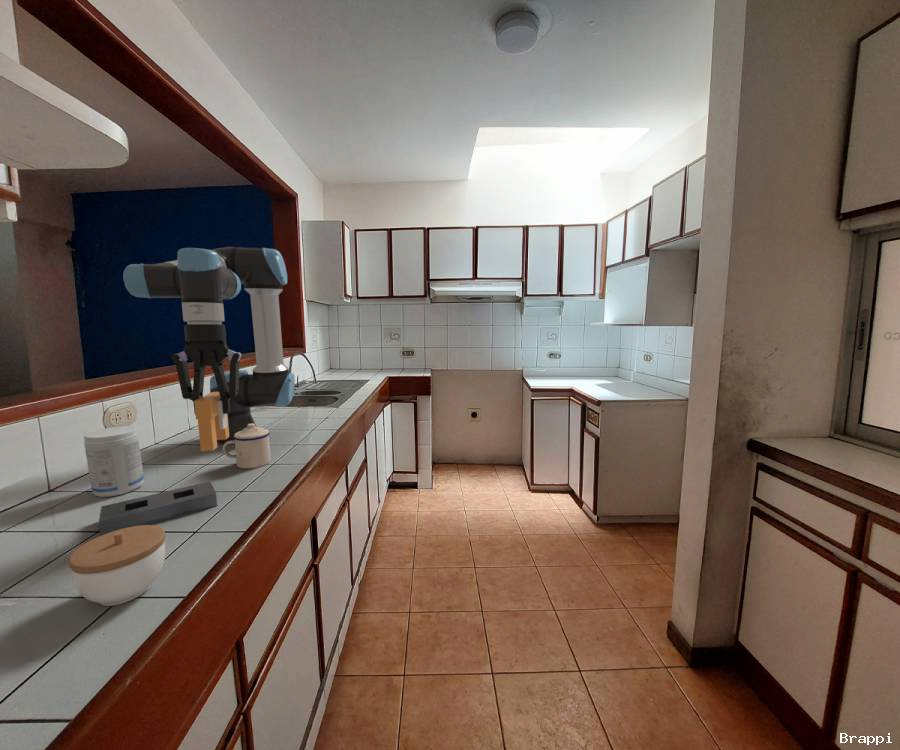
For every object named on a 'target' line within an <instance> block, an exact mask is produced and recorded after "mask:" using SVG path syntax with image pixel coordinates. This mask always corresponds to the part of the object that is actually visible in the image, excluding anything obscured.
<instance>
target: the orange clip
mask: <svg viewBox="0 0 900 750" xmlns="http://www.w3.org/2000/svg"><path fill="white" fill-rule="evenodd" d="M218 400H220V394H219V392H212V393H210V392H209V393H207V394H205V395H203V397H201V398H199V399H197V400H195V401H194V403H193V405H194V404H195V413H194V415H195V414H196V415H195V419H196V420H197V425H198V428H197V429H198V437H199V444H200V445H199V447H200V452H210V451H215V450H216V449H218V443H217V440H223V439H227V438H228V437H229V427H228V415H227V414H226V415H227V427H226V428H224V429H221V430H220V428H219V417H218V403H217V401H218Z"/></svg>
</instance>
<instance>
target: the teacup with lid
mask: <svg viewBox="0 0 900 750" xmlns="http://www.w3.org/2000/svg"><path fill="white" fill-rule="evenodd" d="M255 424H256V423H255ZM255 424H253V423H252V424H248V425H247V428H245V429H243V430H242V431H239V432H237V433H236V434H235V435H234V439H235V440H233V441H228V442H226V443H224V444H223V446H222V452H223V454H224V455H225V456H226V457H227V458H228V459H229V458H231V459H236V466H237V468H239V469H247V470H248V469H256V468H260V467H263V466H265V465H268V464H269V463H271V450H270V448H271V446H270V431H269V430H268V429H266V428H261V427H259V426H257V427H255ZM231 444H232V445H233V444H234V445H235V446H234V447H235V454H231V453H229V452H228V451H227V446H228V445H231Z"/></svg>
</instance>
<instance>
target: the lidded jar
mask: <svg viewBox="0 0 900 750" xmlns="http://www.w3.org/2000/svg"><path fill="white" fill-rule="evenodd" d="M166 547H167V546H166V531H165V529H164V528H163V527H162V526H161V527H160V526H158V525H153V524H148V525H140V526H133V527H128V528H124V529H120V530H116V531H113V532H110V533H107V534H105V535H102V536H98V537H95V538H93V539H91V540H89V541H88V542H85V543H84V544H82V545H81V546H79V547H78V548H77V549H76V550H74V551H73V552H72V554H71V555H70V557H69V559H68V566H69V568H70V571H71V575H72V580H73V582H74V585H75V587H76V589H77V591H78V592H79V594H80V595H81V596H82V597H83V598H85V599H86V600H88V601H90V602H92V603H97V604H100V605H101V606H104V607H113V606H118V605H123V604H125V603H128V602H130V601H133V600H135V599H136V598H139V597H140V596H141V595H143V594H144V593H146V592H147V591H148V590H149V589H150V587H151V586H152V584H153V583H154V582H155V580H156V579H157V578H158V576H159V575H160V574H161V572H162V570H163V566H164V565H165V560H166V552H167V551H166V549H167V548H166Z"/></svg>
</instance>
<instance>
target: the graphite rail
mask: <svg viewBox="0 0 900 750" xmlns="http://www.w3.org/2000/svg"><path fill="white" fill-rule="evenodd" d="M217 499H218V498H217V491H216V490H215V488H214V486H213V484H212V481H211V480H209V481H206V482H202V483H201V482H200V483H198V484H193V485H189V486H184V487H178V488H176V489H172V490H167V491H166V490H165V491H163V492H159V493H154V494H150V495H145V496H142V497H137V498H133V499H128V500H124V501H119V502H115V503H111V504H107V505H102V506H101V507H100V513H99V518H98V528H99V535H100V536H102V535H105V534H107V533H110V532H113V531H116V530H120V529H124V528H128V527H133V526H140V525H152V524H154V523H158V522H163V521H166V520H169V519H173V518H176V517H180V516H185V515H188V514H192V513H195V512H199V511H203V510H206V509H211V508H214V507H217V506H218V501H217ZM100 536H99V537H100Z"/></svg>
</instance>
